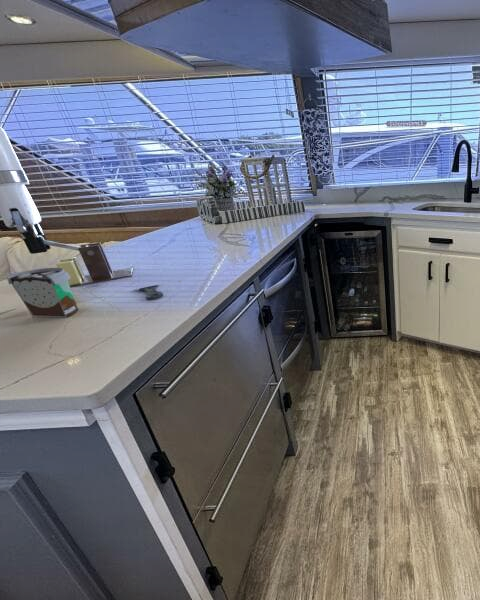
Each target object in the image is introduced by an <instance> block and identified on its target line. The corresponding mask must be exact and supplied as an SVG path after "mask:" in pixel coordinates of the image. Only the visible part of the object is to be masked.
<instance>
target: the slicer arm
mask: <svg viewBox="0 0 480 600" xmlns="http://www.w3.org/2000/svg"><path fill="white" fill-rule="evenodd" d="M38 236H39V237H41V238H42V240H43V242H44V244H45V245H50V247H51V246H52V247H56V248H61V249H68V250H73V251H78V252H79V250H78V247H79V246H78V245H73V244H67V243H63V242H58V241H53V240H48V239H47V240H44V238H43V237H42V236H40V235H38Z"/></svg>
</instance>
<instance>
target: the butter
mask: <svg viewBox="0 0 480 600" xmlns="http://www.w3.org/2000/svg"><path fill="white" fill-rule="evenodd" d="M55 265H56V268H63V270H64V271H66V272H67V273H68V274H69V276H70V279H68V283H69V285H74V284H80V283H81V282H82V279H84V277H85V276H86V275H85V273H84V271H83V269H82V267H81V265H80V263H79V260H78V258H77V256H70V257H63V258H60V260H59V261H58V262H57V263H56V264H55Z"/></svg>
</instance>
